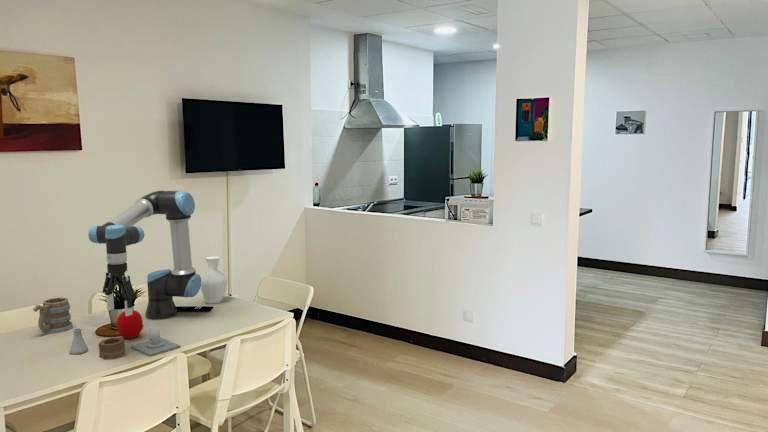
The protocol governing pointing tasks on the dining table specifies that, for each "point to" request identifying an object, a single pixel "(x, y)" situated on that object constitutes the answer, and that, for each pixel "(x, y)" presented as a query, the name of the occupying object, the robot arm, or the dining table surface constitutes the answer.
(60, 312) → the tankard
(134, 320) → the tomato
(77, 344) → the flask
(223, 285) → the vase
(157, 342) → the post fixture
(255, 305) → the dining table surface
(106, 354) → the collar
